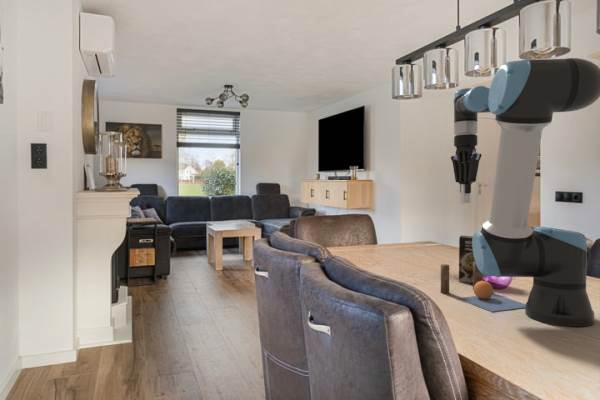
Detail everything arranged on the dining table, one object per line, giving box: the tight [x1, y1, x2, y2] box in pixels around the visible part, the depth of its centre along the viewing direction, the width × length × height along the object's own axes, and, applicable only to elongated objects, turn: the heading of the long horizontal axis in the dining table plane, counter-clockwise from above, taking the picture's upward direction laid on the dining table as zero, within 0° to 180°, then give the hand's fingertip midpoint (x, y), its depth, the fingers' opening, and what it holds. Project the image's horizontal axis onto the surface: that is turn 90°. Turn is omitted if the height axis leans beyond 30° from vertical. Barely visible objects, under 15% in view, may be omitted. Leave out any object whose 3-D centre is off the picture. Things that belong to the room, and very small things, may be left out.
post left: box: [440, 263, 450, 295], centre depth 130 cm, size 3×3×9 cm
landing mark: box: [457, 293, 526, 313], centre depth 119 cm, size 14×14×1 cm
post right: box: [472, 262, 482, 291], centre depth 134 cm, size 3×3×9 cm
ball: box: [473, 281, 494, 299], centre depth 123 cm, size 6×6×6 cm
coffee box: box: [458, 235, 483, 284], centre depth 146 cm, size 9×6×16 cm
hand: (465, 202), depth 142 cm, fingers closed
